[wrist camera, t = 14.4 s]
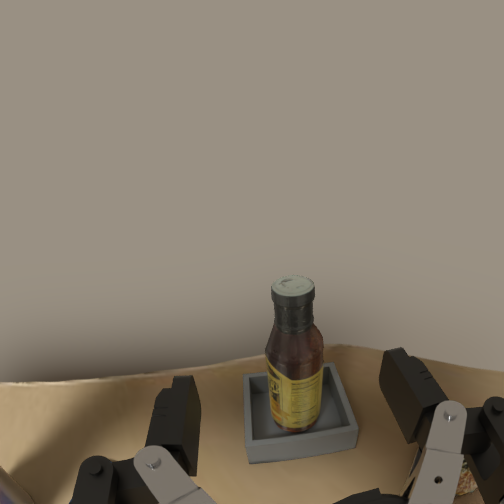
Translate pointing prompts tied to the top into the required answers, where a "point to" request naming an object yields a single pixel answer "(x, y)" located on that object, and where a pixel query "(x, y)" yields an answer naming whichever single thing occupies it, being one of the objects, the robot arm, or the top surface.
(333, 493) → the top surface
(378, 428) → the top surface
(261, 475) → the top surface
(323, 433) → the box
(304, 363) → the sauce bottle
